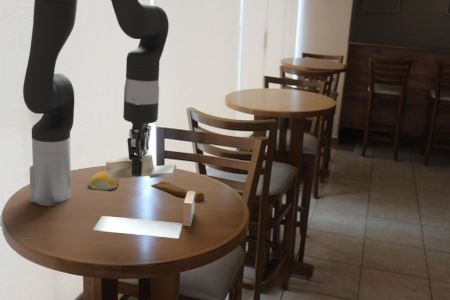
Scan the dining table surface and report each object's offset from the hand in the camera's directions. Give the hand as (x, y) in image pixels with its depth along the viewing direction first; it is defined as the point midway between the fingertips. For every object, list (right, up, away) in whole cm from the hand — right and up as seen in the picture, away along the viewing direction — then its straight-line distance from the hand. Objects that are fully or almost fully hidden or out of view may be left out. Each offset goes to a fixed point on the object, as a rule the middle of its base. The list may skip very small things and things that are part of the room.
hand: (138, 172), depth 107 cm
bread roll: (-16, -6, +30) cm, 34 cm away
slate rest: (-1, -14, +4) cm, 15 cm away
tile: (+11, -13, +11) cm, 20 cm away
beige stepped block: (+1, 0, 0) cm, 1 cm away
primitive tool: (+6, -8, +29) cm, 30 cm away
